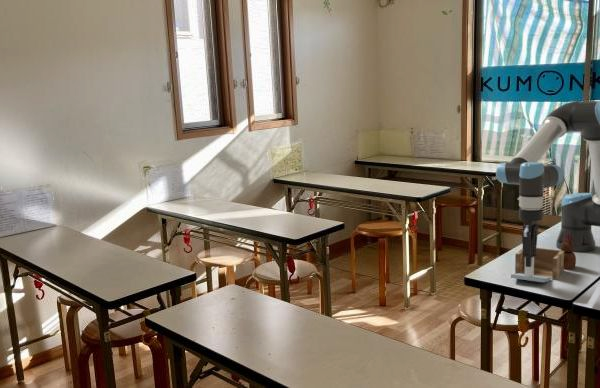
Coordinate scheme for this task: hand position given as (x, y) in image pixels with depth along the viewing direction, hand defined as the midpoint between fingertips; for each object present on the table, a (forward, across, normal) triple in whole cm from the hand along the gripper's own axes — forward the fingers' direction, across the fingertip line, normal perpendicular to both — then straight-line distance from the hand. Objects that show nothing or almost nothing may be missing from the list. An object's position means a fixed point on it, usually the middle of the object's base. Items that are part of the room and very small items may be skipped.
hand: (529, 275), depth 204 cm
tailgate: (+3, -8, 0) cm, 9 cm away
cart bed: (+4, -14, 0) cm, 15 cm away
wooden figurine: (+4, -25, +7) cm, 27 cm away
